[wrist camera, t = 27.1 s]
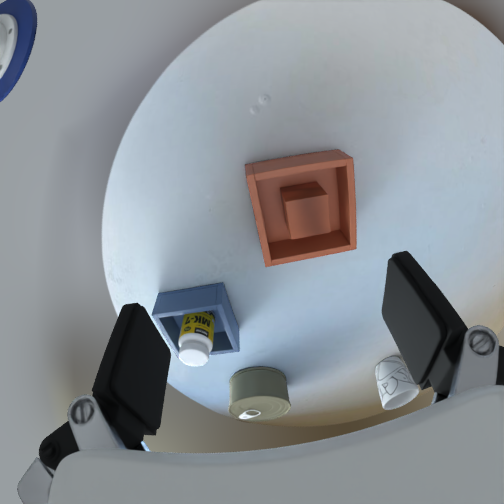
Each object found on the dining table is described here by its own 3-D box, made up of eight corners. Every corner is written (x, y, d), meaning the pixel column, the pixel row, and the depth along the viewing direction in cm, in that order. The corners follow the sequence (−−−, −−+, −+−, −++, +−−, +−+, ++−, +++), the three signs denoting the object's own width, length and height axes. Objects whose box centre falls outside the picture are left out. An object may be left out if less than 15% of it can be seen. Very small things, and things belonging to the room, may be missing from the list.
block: (285, 222, 34) (291, 240, 30) (279, 187, 32) (285, 201, 28) (320, 215, 34) (330, 232, 30) (316, 181, 31) (328, 194, 27)
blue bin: (181, 337, 45) (177, 358, 41) (158, 293, 40) (151, 314, 36) (239, 329, 44) (239, 351, 40) (223, 282, 39) (221, 304, 35)
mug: (414, 359, 54) (429, 392, 46) (388, 379, 58) (401, 411, 49) (392, 349, 51) (408, 386, 42) (363, 371, 54) (376, 408, 46)
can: (298, 377, 53) (303, 405, 47) (259, 400, 58) (261, 425, 52) (255, 358, 49) (257, 389, 43) (217, 383, 53) (215, 412, 47)
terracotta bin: (262, 247, 36) (265, 267, 32) (244, 164, 31) (245, 175, 27) (344, 231, 36) (356, 249, 32) (338, 149, 30) (353, 157, 26)
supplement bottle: (215, 304, 40) (211, 349, 33) (214, 326, 43) (211, 369, 36) (183, 302, 40) (174, 345, 33) (184, 324, 42) (177, 366, 35)
